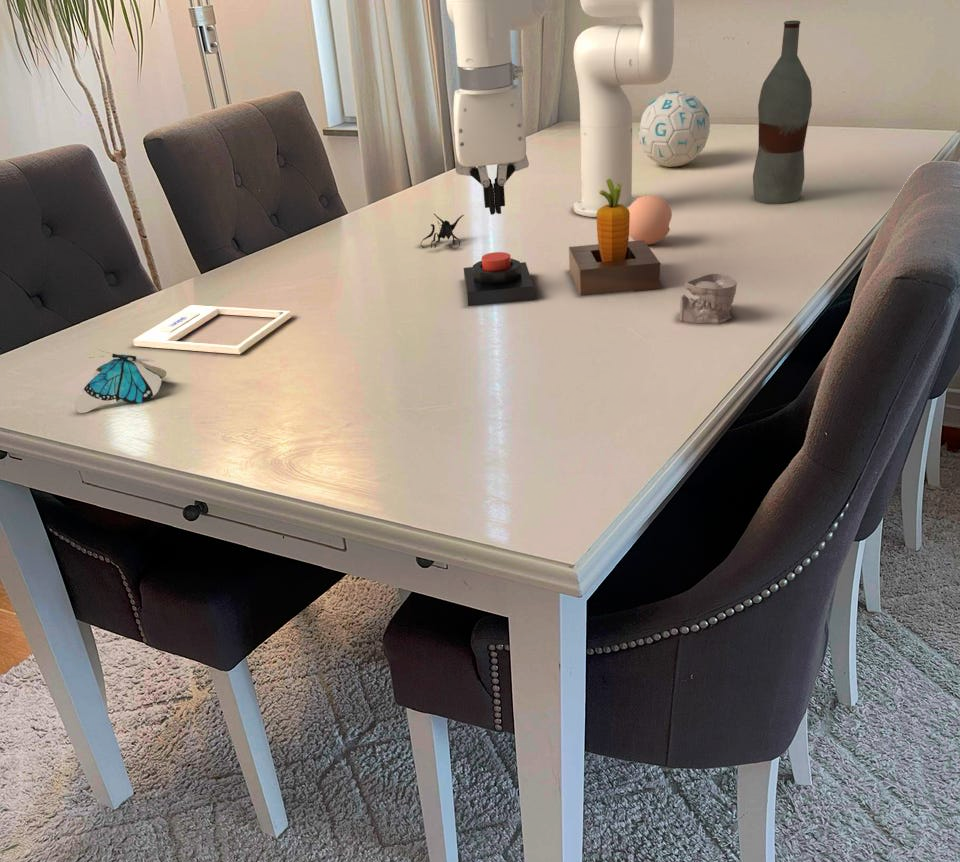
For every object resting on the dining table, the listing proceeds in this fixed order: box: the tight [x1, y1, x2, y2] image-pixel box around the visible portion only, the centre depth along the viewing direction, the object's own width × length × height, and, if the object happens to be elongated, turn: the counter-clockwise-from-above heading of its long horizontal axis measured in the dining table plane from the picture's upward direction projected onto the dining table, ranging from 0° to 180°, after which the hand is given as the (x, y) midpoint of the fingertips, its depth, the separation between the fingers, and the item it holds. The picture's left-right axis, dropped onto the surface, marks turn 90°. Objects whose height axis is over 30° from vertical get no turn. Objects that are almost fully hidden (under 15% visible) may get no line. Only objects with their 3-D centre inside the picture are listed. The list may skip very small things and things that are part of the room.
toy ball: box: [628, 194, 673, 245], centre depth 161 cm, size 8×8×8 cm
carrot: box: [596, 179, 630, 262], centre depth 144 cm, size 5×5×15 cm
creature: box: [420, 213, 465, 250], centre depth 170 cm, size 8×5×8 cm
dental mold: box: [679, 273, 738, 325], centre depth 131 cm, size 8×7×5 cm
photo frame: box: [132, 304, 292, 355], centre depth 141 cm, size 15×1×18 cm
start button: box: [481, 251, 512, 271], centre depth 146 cm, size 4×4×2 cm
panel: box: [463, 258, 535, 307], centre depth 147 cm, size 12×10×4 cm
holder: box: [568, 240, 661, 297], centre depth 147 cm, size 12×12×4 cm
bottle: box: [752, 19, 813, 205], centre depth 173 cm, size 9×9×30 cm
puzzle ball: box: [638, 90, 711, 168], centre depth 205 cm, size 15×15×15 cm
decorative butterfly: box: [74, 349, 168, 414], centre depth 124 cm, size 10×6×10 cm
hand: (495, 211), depth 142 cm, fingers closed
